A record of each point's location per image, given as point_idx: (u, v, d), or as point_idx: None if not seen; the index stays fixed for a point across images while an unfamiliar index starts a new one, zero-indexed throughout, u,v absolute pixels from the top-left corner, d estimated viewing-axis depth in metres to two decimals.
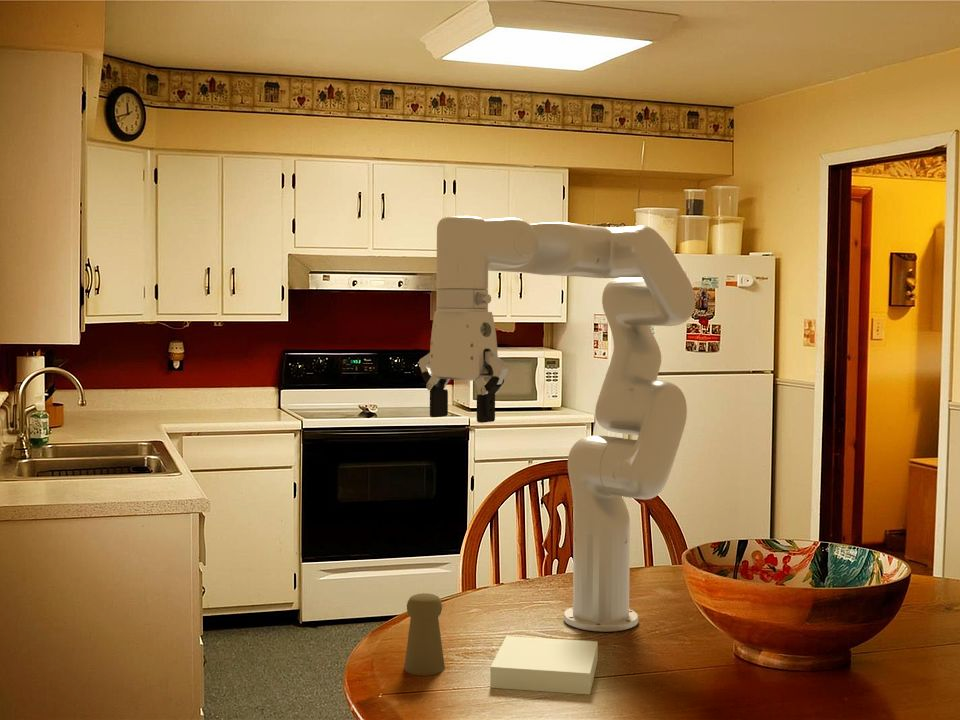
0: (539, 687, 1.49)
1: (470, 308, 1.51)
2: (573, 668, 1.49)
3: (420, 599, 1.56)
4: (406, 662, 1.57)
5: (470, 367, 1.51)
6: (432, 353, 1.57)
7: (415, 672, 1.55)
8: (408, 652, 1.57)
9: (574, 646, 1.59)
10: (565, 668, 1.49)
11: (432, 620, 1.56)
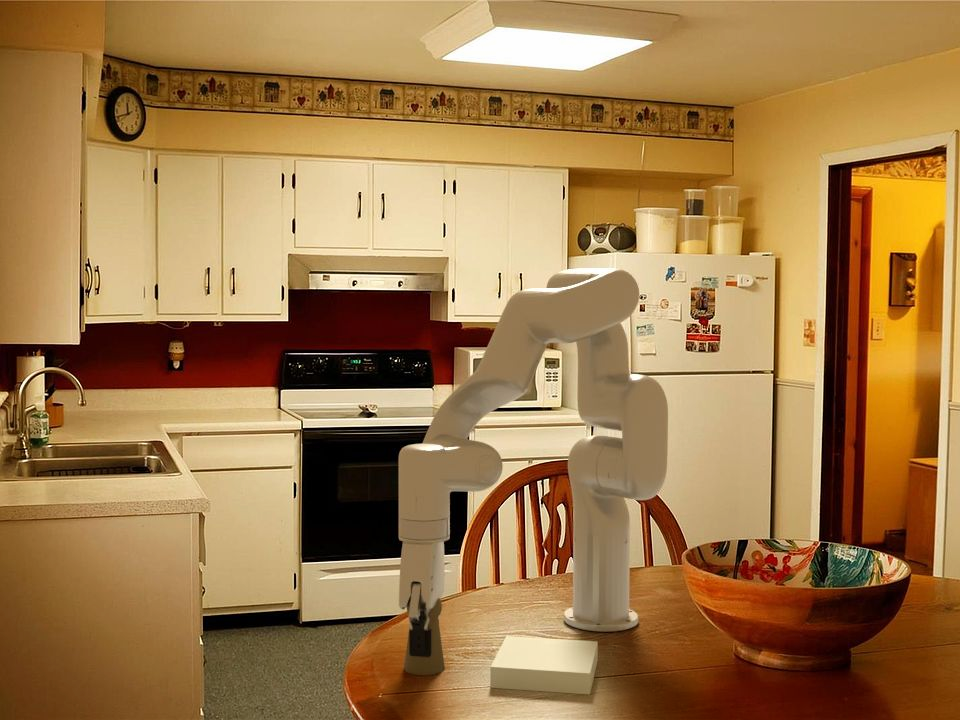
0: (539, 687, 1.49)
1: None
2: (573, 668, 1.49)
3: None
4: (406, 662, 1.57)
5: (443, 584, 1.61)
6: (431, 587, 1.53)
7: (415, 672, 1.55)
8: (408, 652, 1.57)
9: (574, 646, 1.59)
10: (565, 668, 1.49)
11: (432, 620, 1.56)
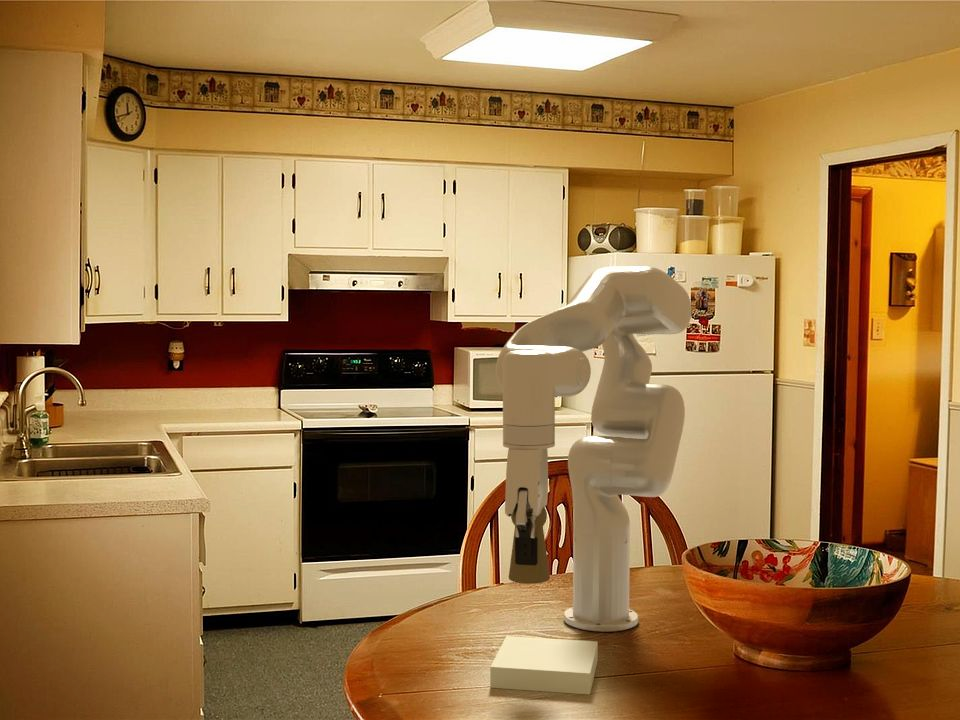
0: (539, 687, 1.49)
1: None
2: (573, 668, 1.49)
3: None
4: (511, 571, 1.55)
5: (547, 494, 1.58)
6: (538, 493, 1.50)
7: (521, 580, 1.53)
8: (513, 561, 1.54)
9: (574, 646, 1.59)
10: (565, 668, 1.49)
11: (537, 528, 1.53)
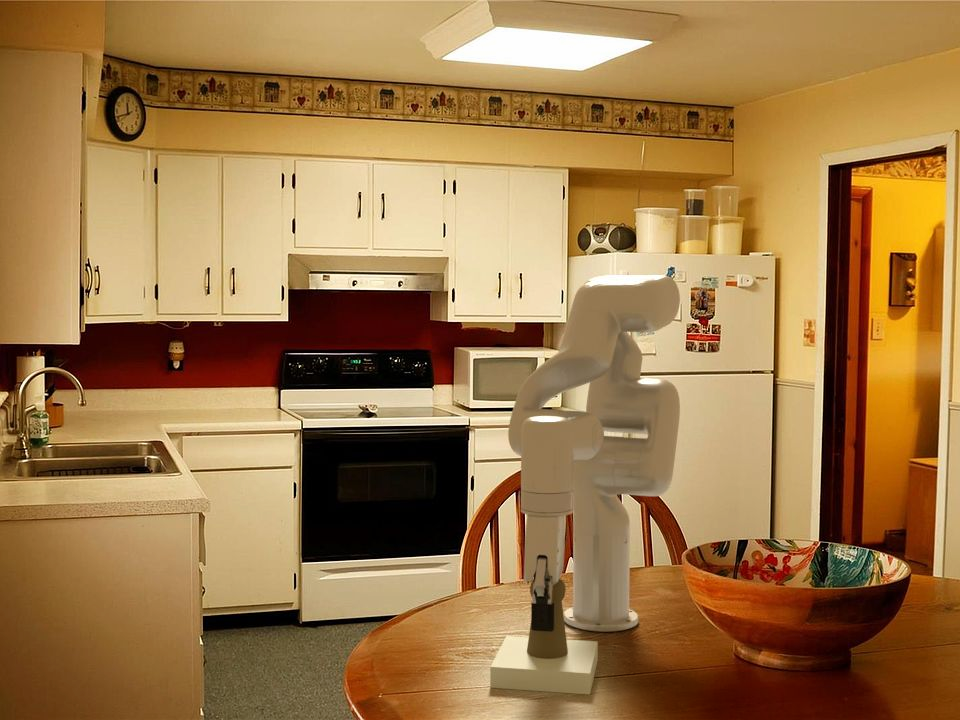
0: (539, 687, 1.49)
1: None
2: (573, 668, 1.49)
3: None
4: (529, 645, 1.55)
5: None
6: (558, 560, 1.50)
7: (540, 655, 1.54)
8: (532, 635, 1.55)
9: (574, 646, 1.59)
10: (565, 668, 1.49)
11: (556, 603, 1.54)
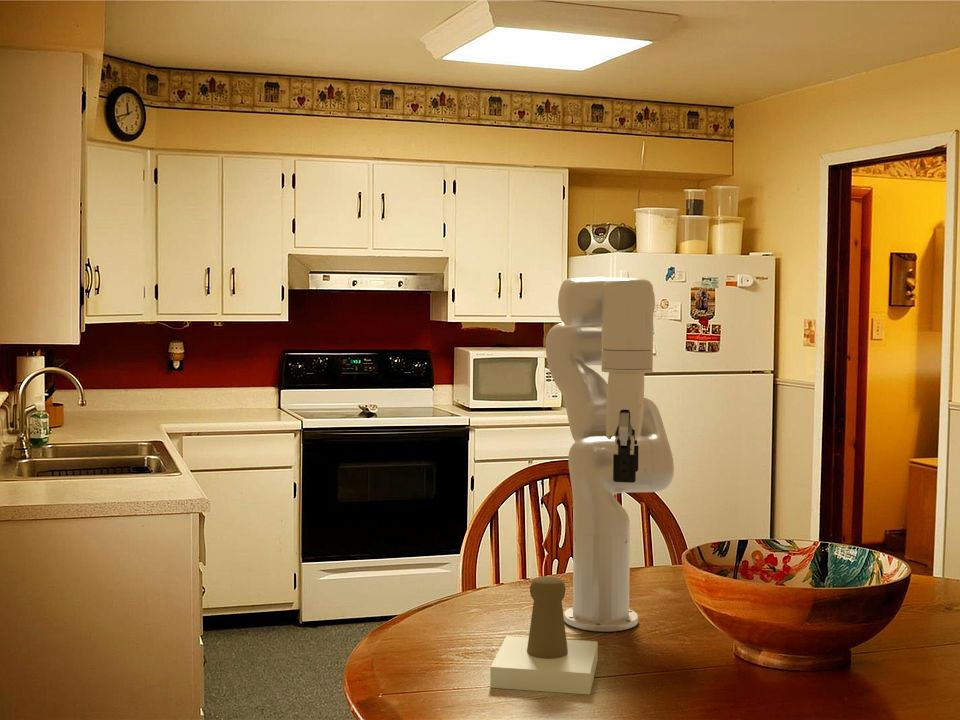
0: (539, 687, 1.49)
1: None
2: (573, 668, 1.49)
3: (545, 582, 1.54)
4: (529, 645, 1.55)
5: None
6: (640, 415, 1.54)
7: (540, 655, 1.54)
8: (532, 635, 1.55)
9: (574, 646, 1.59)
10: (565, 668, 1.49)
11: (556, 603, 1.54)
